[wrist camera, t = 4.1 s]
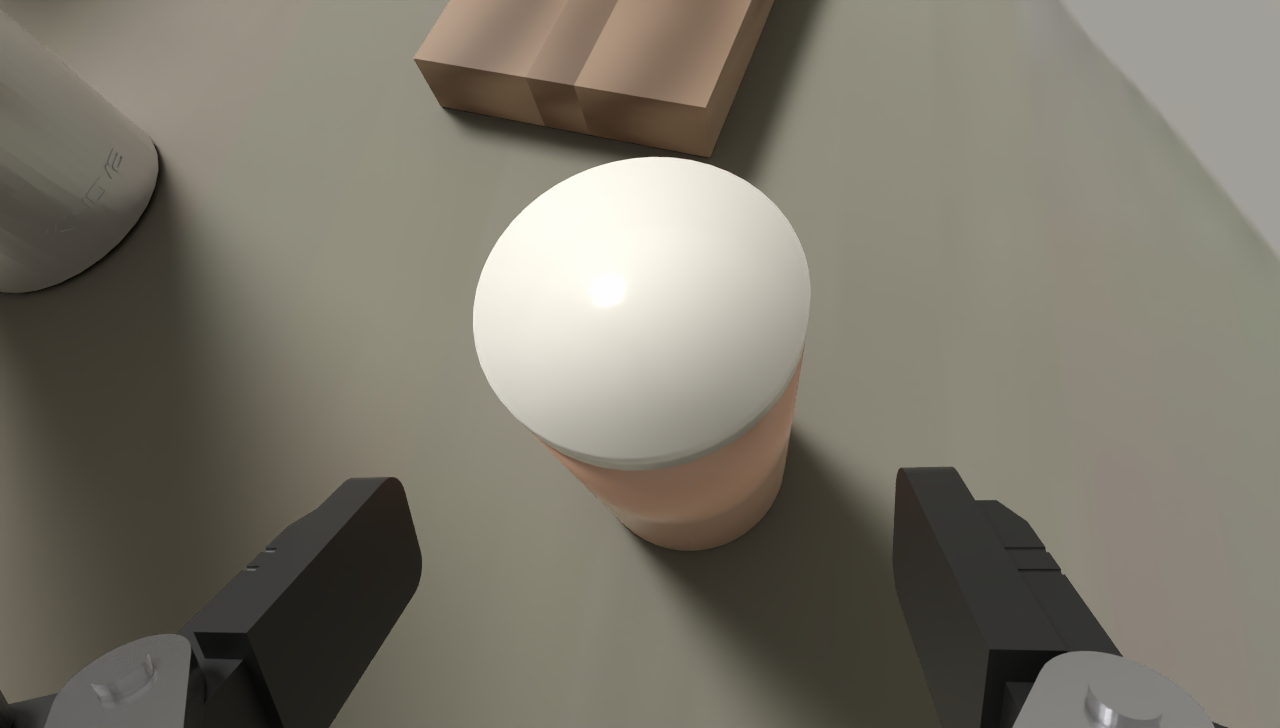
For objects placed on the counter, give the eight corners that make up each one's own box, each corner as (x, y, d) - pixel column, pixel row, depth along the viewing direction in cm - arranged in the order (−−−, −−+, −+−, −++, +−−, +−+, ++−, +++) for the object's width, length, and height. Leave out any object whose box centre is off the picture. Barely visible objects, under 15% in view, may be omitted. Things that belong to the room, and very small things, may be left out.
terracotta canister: (568, 512, 20) (416, 396, 11) (635, 347, 22) (552, 133, 13) (752, 580, 19) (749, 509, 9) (807, 396, 20) (849, 190, 11)
